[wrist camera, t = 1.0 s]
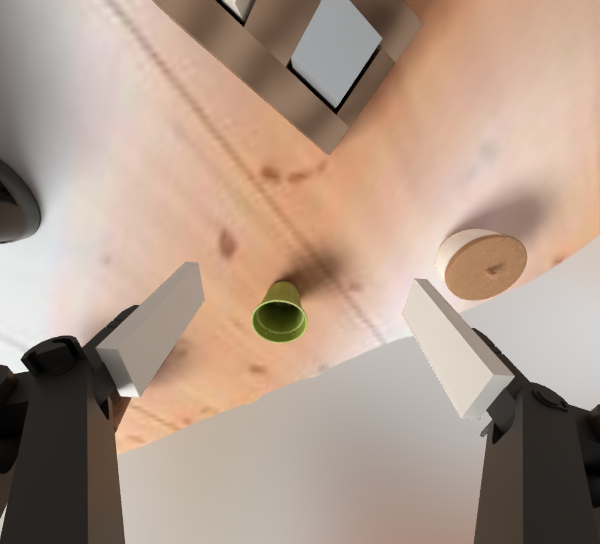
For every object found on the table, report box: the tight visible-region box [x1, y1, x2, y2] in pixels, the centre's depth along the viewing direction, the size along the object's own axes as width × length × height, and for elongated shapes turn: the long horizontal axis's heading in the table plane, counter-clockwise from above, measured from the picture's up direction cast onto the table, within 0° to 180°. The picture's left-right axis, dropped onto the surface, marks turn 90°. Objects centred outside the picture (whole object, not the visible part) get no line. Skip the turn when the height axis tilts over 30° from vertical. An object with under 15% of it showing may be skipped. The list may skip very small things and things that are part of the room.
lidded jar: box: [435, 229, 527, 300], centre depth 36 cm, size 11×11×9 cm
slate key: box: [291, 0, 383, 109], centre depth 23 cm, size 6×6×4 cm
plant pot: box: [251, 281, 308, 343], centre depth 41 cm, size 9×9×9 cm
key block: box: [152, 0, 423, 155], centre depth 24 cm, size 23×14×6 cm, turn 54°
